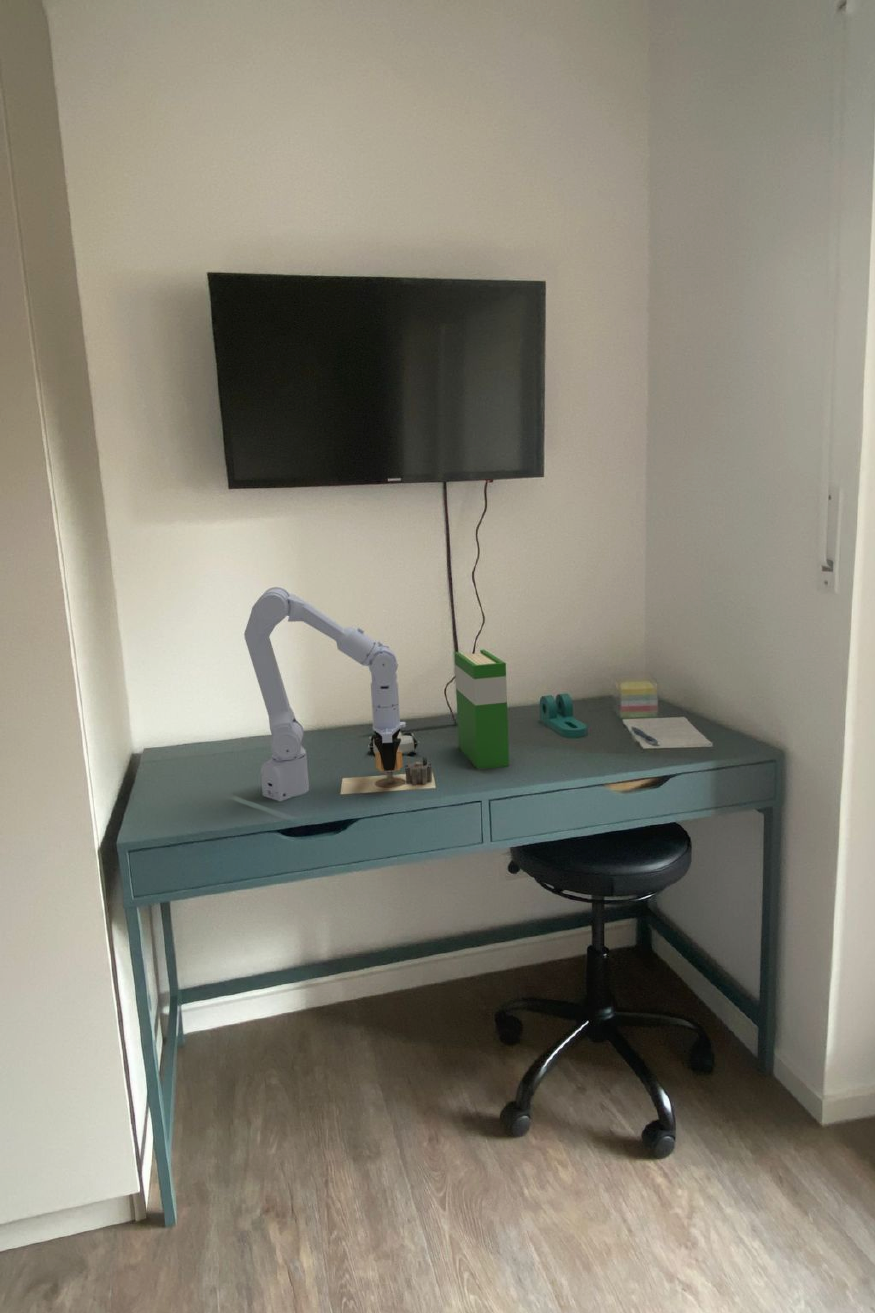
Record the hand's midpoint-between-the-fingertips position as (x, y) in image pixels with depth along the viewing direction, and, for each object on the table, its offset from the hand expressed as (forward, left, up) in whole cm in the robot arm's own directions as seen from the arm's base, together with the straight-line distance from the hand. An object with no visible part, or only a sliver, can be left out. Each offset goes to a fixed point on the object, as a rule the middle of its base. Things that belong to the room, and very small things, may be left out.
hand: (389, 765), depth 176 cm
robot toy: (+19, +17, -5) cm, 26 cm away
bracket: (+57, -7, -5) cm, 58 cm away
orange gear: (0, 0, 0) cm, 0 cm away
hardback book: (+28, -4, -5) cm, 28 cm away
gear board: (0, 0, -5) cm, 5 cm away
